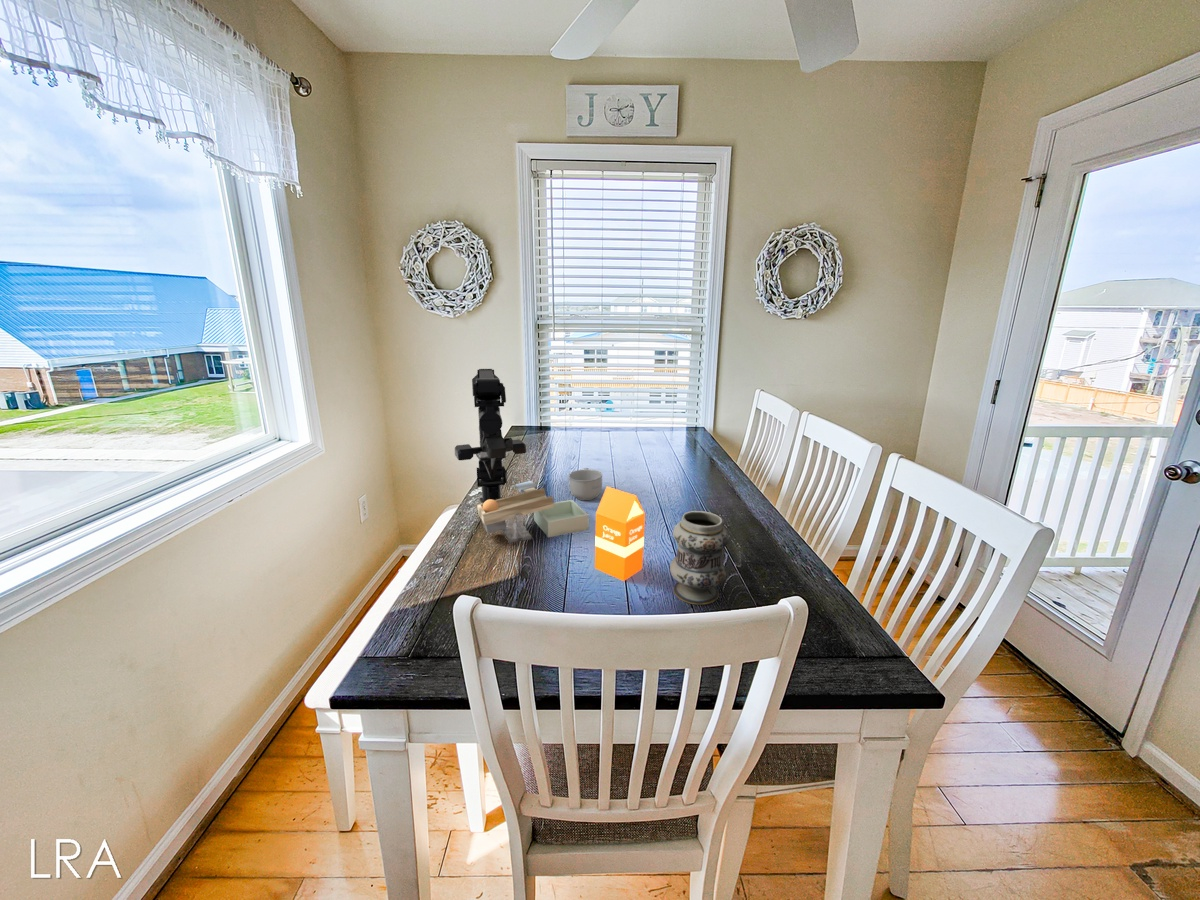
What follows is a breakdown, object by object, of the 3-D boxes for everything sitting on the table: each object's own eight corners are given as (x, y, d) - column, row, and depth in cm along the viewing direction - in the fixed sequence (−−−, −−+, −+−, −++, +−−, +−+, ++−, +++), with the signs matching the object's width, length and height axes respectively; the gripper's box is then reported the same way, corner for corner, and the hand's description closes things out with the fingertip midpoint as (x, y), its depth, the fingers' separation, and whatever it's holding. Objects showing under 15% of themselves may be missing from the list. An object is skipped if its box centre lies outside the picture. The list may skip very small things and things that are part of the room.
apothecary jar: (715, 578, 116) (722, 507, 111) (730, 608, 105) (739, 530, 99) (664, 577, 116) (669, 506, 111) (673, 608, 104) (679, 530, 99)
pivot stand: (499, 527, 139) (498, 502, 137) (520, 523, 142) (519, 499, 140) (509, 543, 130) (508, 516, 128) (531, 538, 133) (530, 513, 131)
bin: (534, 520, 144) (533, 505, 143) (572, 513, 149) (572, 499, 148) (548, 537, 134) (547, 522, 133) (588, 529, 139) (588, 515, 138)
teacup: (598, 504, 156) (598, 481, 154) (564, 501, 158) (564, 477, 156) (606, 489, 170) (606, 467, 167) (575, 486, 172) (575, 464, 169)
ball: (482, 512, 132) (480, 499, 131) (496, 509, 134) (495, 495, 133) (485, 518, 129) (483, 504, 128) (500, 514, 131) (498, 500, 129)
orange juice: (614, 556, 125) (616, 482, 119) (642, 568, 120) (646, 491, 114) (594, 568, 119) (595, 490, 113) (623, 581, 114) (626, 500, 108)
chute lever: (472, 510, 143) (469, 492, 141) (535, 495, 151) (532, 476, 149) (486, 535, 129) (483, 514, 127) (555, 516, 136) (552, 497, 134)
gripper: (460, 435, 124) (463, 493, 129) (531, 428, 132) (532, 483, 137) (452, 425, 134) (456, 479, 138) (519, 419, 142) (521, 471, 146)
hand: (492, 478), depth 140 cm, fingers closed
